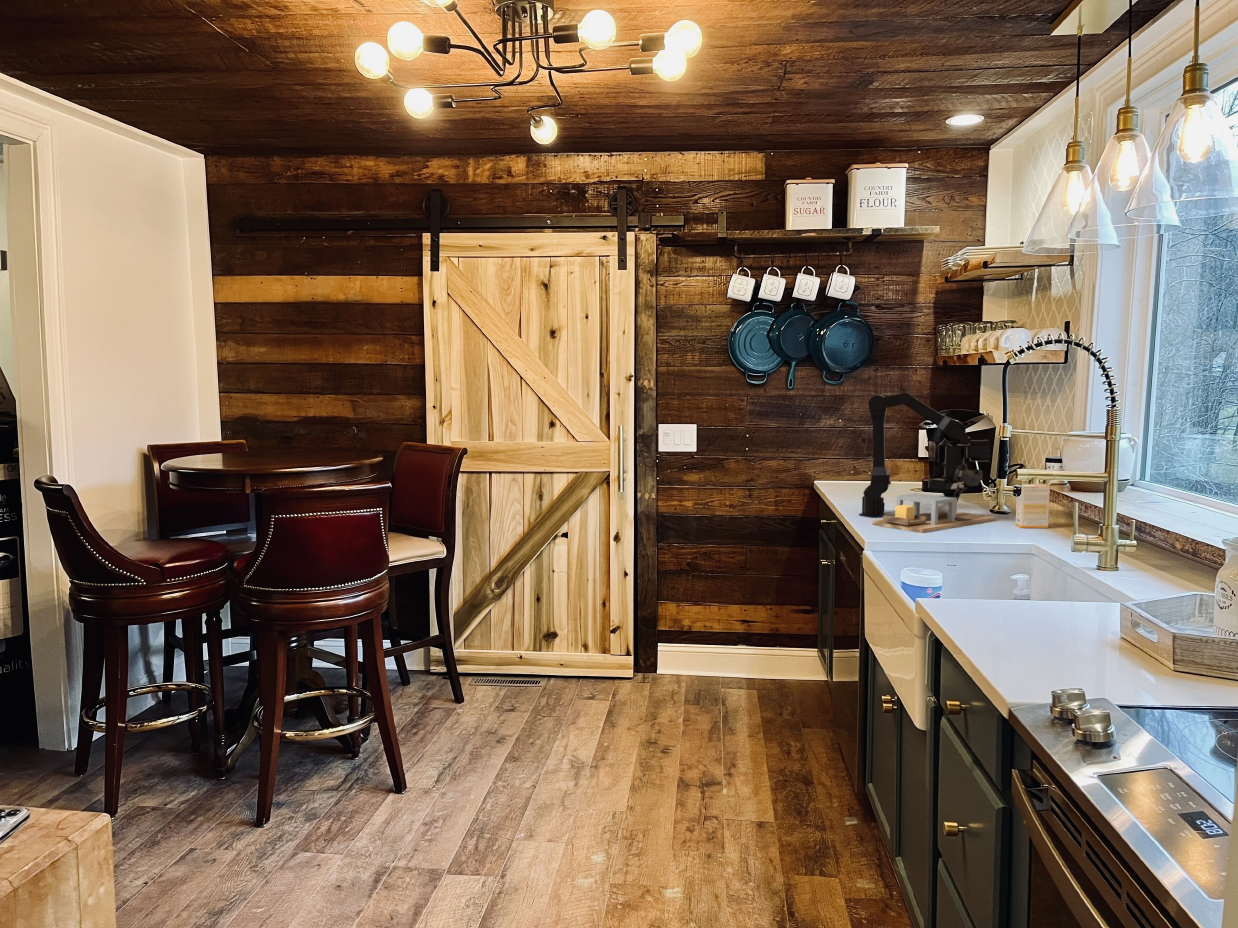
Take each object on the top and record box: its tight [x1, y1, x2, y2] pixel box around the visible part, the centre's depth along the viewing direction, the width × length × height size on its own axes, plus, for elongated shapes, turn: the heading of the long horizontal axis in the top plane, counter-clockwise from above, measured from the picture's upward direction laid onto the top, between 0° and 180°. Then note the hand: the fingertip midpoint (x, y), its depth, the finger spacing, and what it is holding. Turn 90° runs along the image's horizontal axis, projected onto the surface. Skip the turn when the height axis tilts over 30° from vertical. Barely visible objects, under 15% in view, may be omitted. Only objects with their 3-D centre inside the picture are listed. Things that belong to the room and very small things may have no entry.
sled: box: [882, 495, 958, 525], centre depth 268 cm, size 9×26×6 cm, turn 125°
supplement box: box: [1015, 483, 1051, 529], centre depth 264 cm, size 8×5×13 cm, turn 84°
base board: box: [871, 510, 997, 534], centre depth 272 cm, size 18×38×1 cm, turn 125°
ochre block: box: [894, 504, 915, 520], centre depth 263 cm, size 4×4×4 cm
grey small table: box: [895, 493, 955, 525], centre depth 269 cm, size 14×10×8 cm
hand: (952, 509), depth 277 cm, fingers closed
